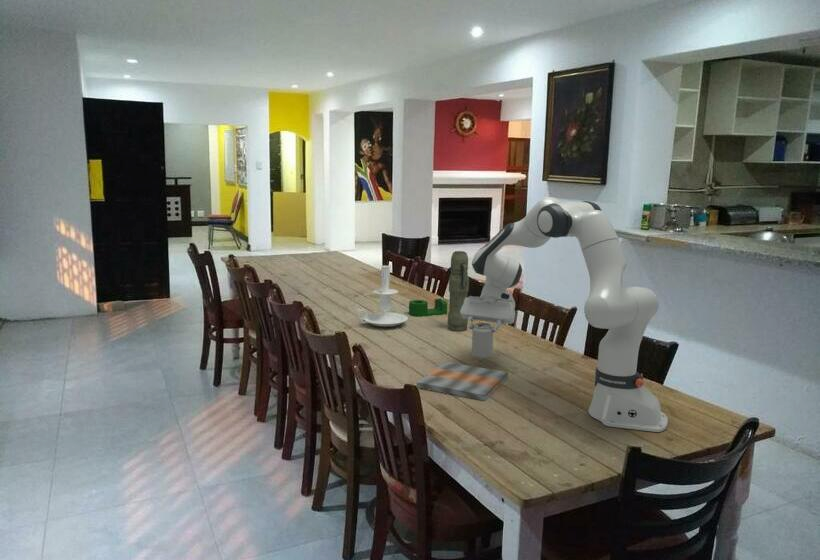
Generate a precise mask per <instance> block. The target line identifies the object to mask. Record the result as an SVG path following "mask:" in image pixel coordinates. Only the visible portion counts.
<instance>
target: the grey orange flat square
mask: <svg viewBox="0 0 820 560" xmlns="http://www.w3.org/2000/svg"><path fill="white" fill-rule="evenodd" d="M508 374H509V372H508V371H503V370H496V369H491V368H490V369H489V368H484V367H479V366H473V365H467V364H462V363H455V362H450V361H443V362H442V363H441V364H439V365H438V366H437V367H435V368H434V369H432V370H431V371H430V372H428V373H427V374H426V375H424V376H423V377H422V378H420V379H419V380H418V381H416V387H417V386H418V387H419V388H418V389H420V388H424V389H423V390H425V389H430V390H434V391H433V392H435V391H438V392H437V393H441V392H443V393H442V394H446V393H447V395H451V394H452V396H457V397H463V398H466V399H467V398H468V399H471V400H472V399H473V400H478V401H483V402H485V401H487V400H488V398H489V397H490V396H491V395H492V394H493V393H494V392H495V391H496V390H497V389H498V388H499V387H500V386H501V385H502V384H503V383H504V382H505V381H506V380H507V379H508V376H509V375H508ZM430 390H429V391H430Z"/></svg>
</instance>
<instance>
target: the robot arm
mask: <svg viewBox="0 0 820 560" xmlns="http://www.w3.org/2000/svg"><path fill="white" fill-rule="evenodd" d="M568 237H571V238H573V237H575V238H576V239H577V240H578V243H579V246H580V250H581V252H582V256H583V259H584V261H585V266H586V267H587V271H588V275H589V294H588V298H587V299H586V301H585V303H584V305H583V306H584V308H583V312H584V317H585V319H586V322H588V323H589V325H590V326H592V327H593V328H596V329H605V330H607V329H608V331H607V332H606V334H605V335H604V337H602V339H601V340H600V341H599V345H598V355H597V366H596V368H595V370H594V381H593V382H594V391H593V395H592V400H591V402H590V403H591V404H590V406H589V408H588V409H587V410H588V411H587V413H588V414H589V415H590V416H591V417H592V418H593V419H596V420H597V421H600V422H601V423H602V424H603V425H604V426H607V427H613V428H620V429H629V430H637V431H644V432H655V433H660V432H663V431H665V430H666V428H667V427H668V425H669V424H668V423H669V421H668V420H669V418H668V416H667V415H666V414H665V413H664V412H662V410H661V404H660V402H659V401H660V400H659V399H658V398H657V396H656V395H654V394H653V393H652V392H651V391H650V390H648V389H647V388H646V387H645V386H644V376H643V375H644V374H643V373H639V371H637V367H638V357H639V351H640V345H641V343H642V339H643V337H644V334H645V331H646V330H647V327H648V325H649V323H650V322H651V320H652V318H654V316H656V315H657V313H658V310H659V307H660V306H659V300H658V296H657V295H656V293H655V292H654V291H653V290H651V289H650V288H647V287H643V286H627V287H624V284H623V283H624V282H623V274H624V271H625V270H626V269H627V264H628V262H627V259H626V256H625V253H624V250H623V247H622V245H621V243H620V239H619V237H618V234H617V232H616V230H615V227H614V226H613V224H612V222H611V220H610V218H609V217H608V214H606V213H605V212H604V211H602V209H601V207H600V206H599V205H598V204H597V203H595V202H593V201H587V200H583V201H570V200H569V201H562V202H561V201H560V200H559V199H557V198H555V197H552V196H546V197H543V198H541V199H540V200H539V201H537V202H536V203H535V205H534V206H533V207H532V208H531V209H530V210H529V211H528V213H526V215H525V217H523V218H522V219H520V220H519V221H516V222H510V223H508V224H506V225H505V226H504V227H503V228H502V229H500V231H498V232H497V233H496V234H495V235H494V236H493V237H492V238H491V239H490V240H489V241H488V242H487V243H486V244H485V245H483V246H482V247H480V248H479V249H478V250H477V251H476V252H475V254H474V255H473V258H472V261H471V265H472V269H473V271H474V272H475V274H478V275H481V276H485V281H484V282H485V283H484V285H483V286H482V289H481V294H480V296H473V295H469V296H467V298H465V300H464V303H463V305H462V308H461V310H460V314H461V316H462V318H464V319H468V329H469V330H473V328H474V327H475V326H474V325H475V324H474V323H473V322H474V321H481V322H482V321H483V322H488V323H496V324H495V325H492V326H491V327H492V332H493V333H497V332H498V329H499V328H501V327H502V326H503V324H506V325H512V324H514V321H515V319H516V310H515V308H516V302H515V298H514V297H513V295H512V294H509V293H507V292H506V291H507V289H511V288H513V287H516V286H517V285H518V283H519V282H520V279H521V276H522V273H523V267H522V265H521V262H519V261H517V260H515V259H513V258H511V257H508V256H506V255H504V254H501V253H499V251H500V250H502V249H503V247H505V246H519V247H524V248H528V249H529V248H531V249H532V248H533V249H535V248H540V247H542V246H544V245H545V244H546V243H547V242H548V241H549V240H550V239H551V238H554V239H558V238H568Z"/></svg>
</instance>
